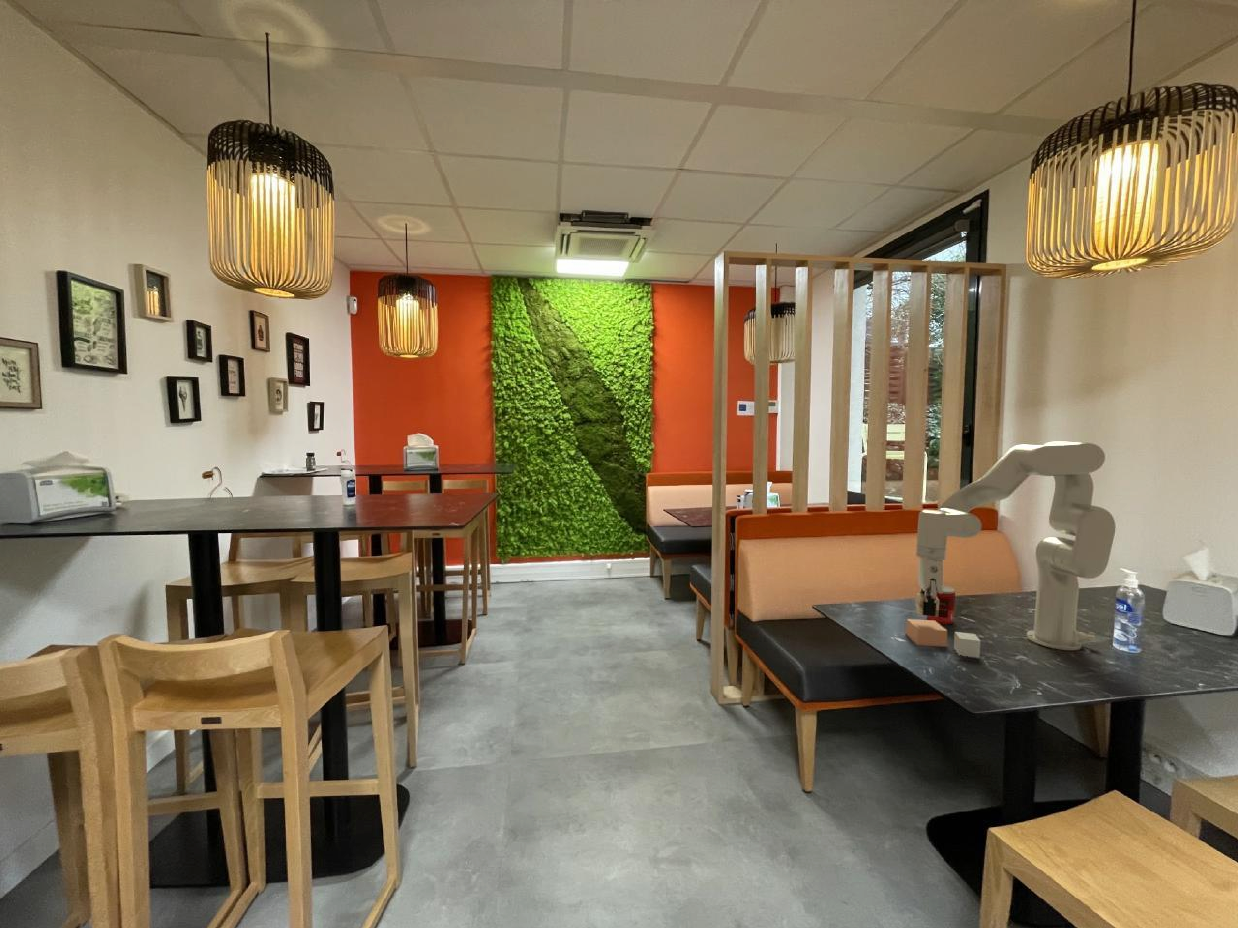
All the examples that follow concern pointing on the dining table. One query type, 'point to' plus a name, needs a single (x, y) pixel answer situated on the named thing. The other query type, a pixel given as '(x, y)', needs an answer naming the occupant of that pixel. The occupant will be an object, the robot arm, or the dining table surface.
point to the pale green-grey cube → (967, 644)
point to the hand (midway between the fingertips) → (926, 611)
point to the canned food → (945, 606)
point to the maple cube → (919, 604)
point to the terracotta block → (926, 632)
